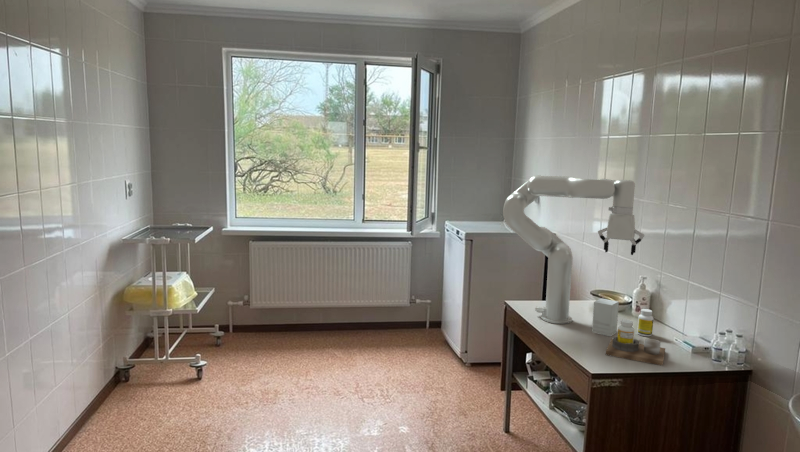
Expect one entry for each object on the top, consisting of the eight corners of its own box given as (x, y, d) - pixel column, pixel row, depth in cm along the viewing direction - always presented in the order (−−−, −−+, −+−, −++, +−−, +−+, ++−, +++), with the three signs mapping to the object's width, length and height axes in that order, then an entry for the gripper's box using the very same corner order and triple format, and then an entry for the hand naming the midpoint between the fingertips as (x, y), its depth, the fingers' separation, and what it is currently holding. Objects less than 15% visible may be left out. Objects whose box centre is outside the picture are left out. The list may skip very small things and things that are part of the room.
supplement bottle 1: (630, 351, 183) (632, 324, 182) (614, 347, 187) (616, 321, 186) (634, 347, 188) (637, 321, 186) (619, 343, 191) (621, 317, 190)
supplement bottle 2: (653, 337, 203) (655, 312, 201) (638, 336, 204) (640, 311, 202) (650, 332, 208) (652, 308, 207) (635, 331, 209) (637, 307, 208)
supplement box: (617, 332, 208) (619, 301, 206) (610, 336, 202) (612, 305, 201) (598, 328, 213) (601, 297, 211) (591, 332, 207) (593, 301, 206)
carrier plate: (605, 354, 184) (606, 339, 183) (611, 342, 196) (612, 328, 195) (662, 365, 175) (664, 349, 174) (664, 352, 187) (666, 337, 187)
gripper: (598, 210, 210) (595, 252, 213) (645, 213, 202) (641, 257, 204) (601, 208, 217) (598, 249, 219) (647, 211, 209) (643, 254, 211)
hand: (619, 253), depth 212 cm, fingers open, 9 cm apart
